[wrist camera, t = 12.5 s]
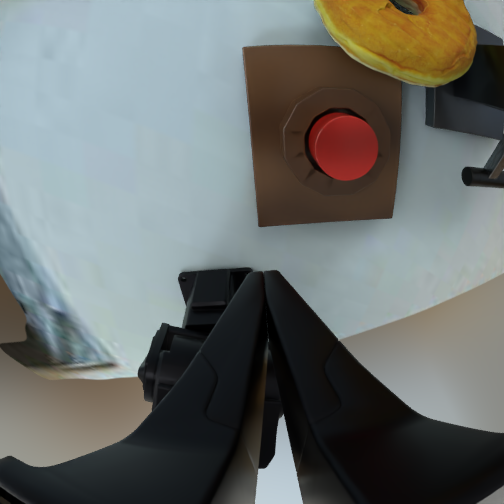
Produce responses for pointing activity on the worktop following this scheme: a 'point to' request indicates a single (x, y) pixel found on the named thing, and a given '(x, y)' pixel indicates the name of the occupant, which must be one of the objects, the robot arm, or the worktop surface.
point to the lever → (487, 170)
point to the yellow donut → (404, 37)
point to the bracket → (472, 93)
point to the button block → (300, 124)
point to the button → (343, 146)
